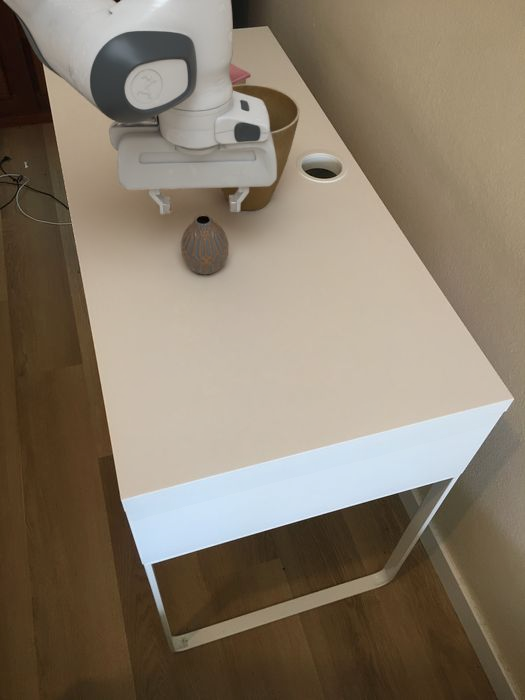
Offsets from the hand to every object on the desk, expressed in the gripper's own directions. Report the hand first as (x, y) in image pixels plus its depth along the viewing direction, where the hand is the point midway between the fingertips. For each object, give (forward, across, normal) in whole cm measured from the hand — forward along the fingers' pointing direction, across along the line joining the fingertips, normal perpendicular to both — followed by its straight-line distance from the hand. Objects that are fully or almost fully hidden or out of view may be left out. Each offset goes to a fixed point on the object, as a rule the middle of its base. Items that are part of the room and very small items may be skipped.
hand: (200, 210), depth 79 cm
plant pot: (+10, +8, +16) cm, 21 cm away
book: (+10, +1, +50) cm, 51 cm away
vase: (+10, 0, 0) cm, 10 cm away
